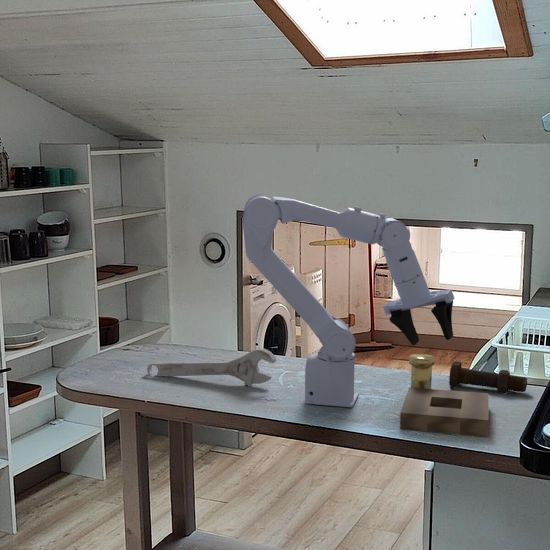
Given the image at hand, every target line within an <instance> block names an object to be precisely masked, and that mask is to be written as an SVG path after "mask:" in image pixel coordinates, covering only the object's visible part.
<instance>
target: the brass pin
mask: <svg viewBox="0 0 550 550" xmlns="http://www.w3.org/2000/svg"><path fill="white" fill-rule="evenodd" d="M408 357H409V358H408V363H409V364H410V365H411V370H410V371H411V373H410V375H411V376H410V387H411V388H424V389H432V380H433V378H432V375H433V374H432V373H433V372H432V371H433V366H435V364H436V363H435V362H436V361H435V360H436V357H435V356H433V355H432V354H425V353H415V354H411V355H409V356H408Z"/></svg>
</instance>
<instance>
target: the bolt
mask: <svg viewBox="0 0 550 550" xmlns="http://www.w3.org/2000/svg"><path fill="white" fill-rule="evenodd" d="M448 379H449V381H448V383H449V386H450V388H453V389H457V388H458V387H459V386H460V385H471V386H477V387H478V386H479V387H482V388H484V387H485V388H488V389H489V388H490V389H496V391H497V393H499V394H504V393H505V394H507V393H508V392H507V391H511V392H517V393H525V392H526V390H527V386H528V378H527V377H524V376H518V375H512V374H511V373H510V371H509V370H507V369H506V370H505V369H500V370H499V372H498V373H496V372H490V371H484V370H479V369H477V370H476V369H471V368H468V367H467V368H466V367H462V362H461V361H458V360H455V361H453V362H452V363H451V366H450V369H449V378H448Z"/></svg>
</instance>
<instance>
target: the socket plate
mask: <svg viewBox="0 0 550 550" xmlns="http://www.w3.org/2000/svg"><path fill="white" fill-rule="evenodd" d="M489 397H490V396H489V393H488V392H487V393H486V392H475V391H473V392H472V391H462V390H461V391H459V390H447V389H437V388H436V389H435V388H431V389H424V388H411V386H410V387H408V389H407V392H406V395H405V398H404V401H403V405H402V408H401V411H400V414H399V424H400V425H399V429H400V430H408V431H409V430H410V431H421V432H429V433H431V432H432V433H444V434H451V435H453V434H454V435H464V436H465V435H467V436H477V437H488V436H489V435H488V434H489V432H488V431H489V399H490V398H489Z"/></svg>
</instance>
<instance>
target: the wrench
mask: <svg viewBox="0 0 550 550" xmlns="http://www.w3.org/2000/svg"><path fill="white" fill-rule="evenodd" d="M261 360H263V361H266V362H268V363H270V364H274V363H276V362H277V359H276V356H275V354H274V353H272V352H271V351H270V350H269V349H266V348H261V347H257V348H255V349H253V350H251V351H249V352H248V353H246V354H244V355H242V356H240V357H236V358H235V359H231V360H204V361H203V360H201V361H200V360H197V361H194V360H193V361H192V360H191V361H189V360H188V361H154V362H152V363H150V364H148V365H147V367H146V372H147V374H148V376H150V375H155V372H154V371H153V367H156V368H157V373H156V374H157V375H155V376H154V377H157V376H165V377H193V376H194V377H195V376H196V377H197V376H231V377H234V378H236V379H239V380H240V381H241V382H244V383H243V385H244V384H245V385H248V386H251V385H252V384H253V385H257V384H262V383H266V382H269V381H270V380H271V379H272V377H273V376H272V375H271V374H270V373H267V372H264V371H260V367H259V366H258V364H259V362H260V361H261ZM245 385H244V386H245ZM253 385H252V386H253ZM248 386H247V387H248ZM252 386H251V387H252Z"/></svg>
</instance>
